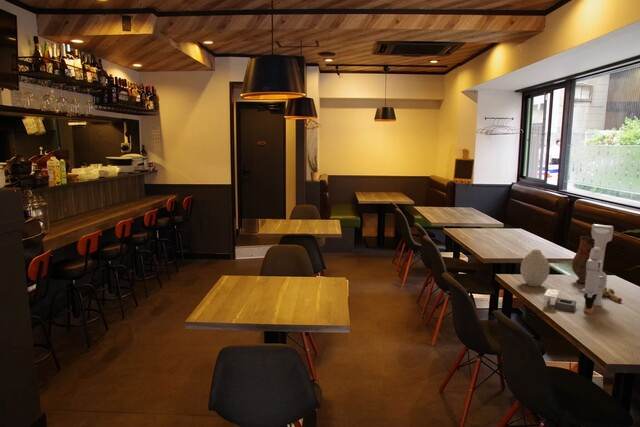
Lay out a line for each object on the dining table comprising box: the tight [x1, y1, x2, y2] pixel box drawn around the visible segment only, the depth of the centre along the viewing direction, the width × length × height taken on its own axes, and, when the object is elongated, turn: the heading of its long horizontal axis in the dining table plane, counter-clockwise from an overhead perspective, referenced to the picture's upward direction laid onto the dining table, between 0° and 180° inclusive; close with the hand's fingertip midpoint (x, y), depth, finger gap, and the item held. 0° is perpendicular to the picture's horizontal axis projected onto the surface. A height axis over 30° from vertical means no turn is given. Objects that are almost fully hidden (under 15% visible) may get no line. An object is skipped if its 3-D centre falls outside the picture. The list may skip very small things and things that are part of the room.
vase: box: [520, 248, 550, 288], centre depth 295 cm, size 16×16×22 cm
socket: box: [554, 297, 577, 313], centre depth 256 cm, size 9×9×4 cm
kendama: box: [602, 287, 623, 304], centre depth 275 cm, size 8×6×18 cm
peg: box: [583, 300, 595, 315], centre depth 250 cm, size 4×4×8 cm
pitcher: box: [571, 235, 595, 286], centre depth 300 cm, size 17×21×30 cm
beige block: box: [543, 288, 561, 309], centre depth 259 cm, size 14×6×7 cm, turn 146°
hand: (589, 307), depth 250 cm, fingers closed on peg, 4 cm apart
